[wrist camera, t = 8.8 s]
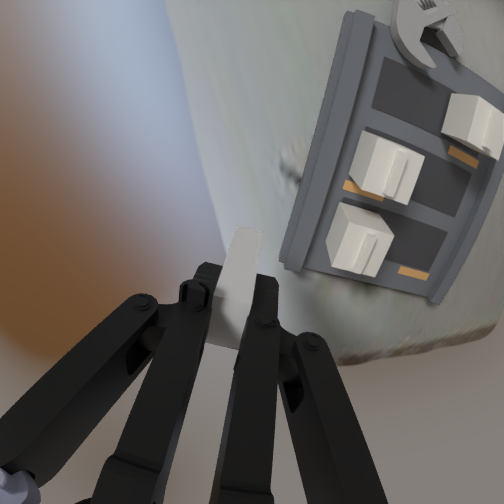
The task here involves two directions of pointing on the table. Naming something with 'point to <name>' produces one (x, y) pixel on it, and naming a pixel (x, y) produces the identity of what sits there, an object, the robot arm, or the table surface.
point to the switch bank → (406, 134)
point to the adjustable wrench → (412, 25)
